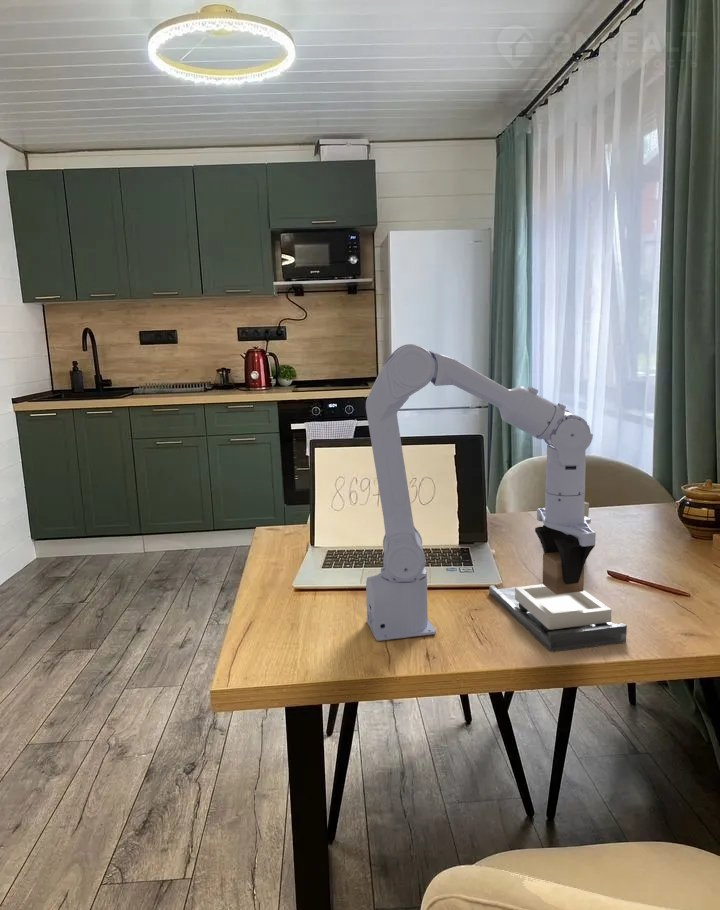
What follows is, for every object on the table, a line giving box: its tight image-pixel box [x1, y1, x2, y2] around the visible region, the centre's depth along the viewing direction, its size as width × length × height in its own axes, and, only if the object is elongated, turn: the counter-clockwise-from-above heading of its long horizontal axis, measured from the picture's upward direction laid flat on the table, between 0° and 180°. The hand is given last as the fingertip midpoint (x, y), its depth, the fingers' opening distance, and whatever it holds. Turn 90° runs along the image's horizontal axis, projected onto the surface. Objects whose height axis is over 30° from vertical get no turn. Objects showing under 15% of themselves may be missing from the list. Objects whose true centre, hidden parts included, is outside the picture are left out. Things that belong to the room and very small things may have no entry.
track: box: [488, 583, 628, 653], centre depth 108 cm, size 12×23×3 cm, turn 11°
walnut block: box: [542, 552, 585, 594], centre depth 103 cm, size 4×4×5 cm
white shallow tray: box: [514, 583, 612, 634], centre depth 105 cm, size 10×12×4 cm
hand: (563, 577), depth 104 cm, fingers closed on walnut block, 4 cm apart
